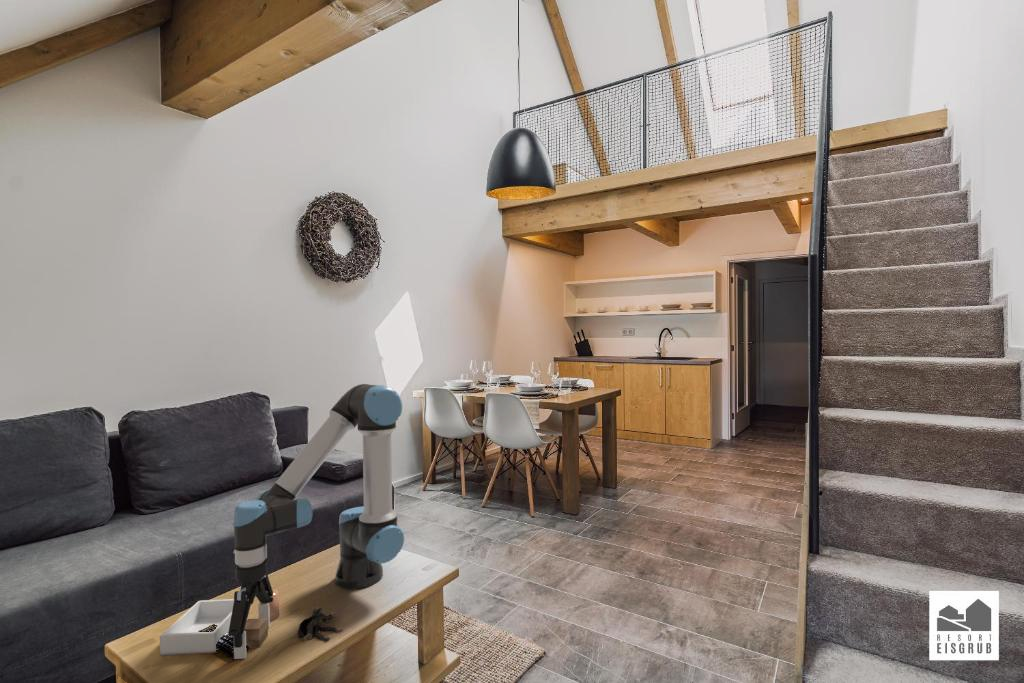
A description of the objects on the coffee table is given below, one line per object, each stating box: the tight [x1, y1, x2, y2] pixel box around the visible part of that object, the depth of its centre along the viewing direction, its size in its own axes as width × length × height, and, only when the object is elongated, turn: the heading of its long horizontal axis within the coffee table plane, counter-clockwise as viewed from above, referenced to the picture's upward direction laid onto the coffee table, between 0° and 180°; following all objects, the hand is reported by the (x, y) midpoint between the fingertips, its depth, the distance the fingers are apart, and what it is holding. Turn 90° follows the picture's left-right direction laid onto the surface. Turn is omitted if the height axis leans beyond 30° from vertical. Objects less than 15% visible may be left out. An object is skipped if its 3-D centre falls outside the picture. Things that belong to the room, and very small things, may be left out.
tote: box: [159, 598, 234, 656], centre depth 140 cm, size 14×18×5 cm
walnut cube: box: [244, 617, 269, 649], centre depth 136 cm, size 5×5×5 cm
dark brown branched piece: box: [297, 606, 344, 643], centre depth 141 cm, size 12×10×12 cm
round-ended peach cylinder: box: [259, 588, 280, 623], centre depth 148 cm, size 5×5×7 cm
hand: (253, 642), depth 136 cm, fingers open, 13 cm apart
